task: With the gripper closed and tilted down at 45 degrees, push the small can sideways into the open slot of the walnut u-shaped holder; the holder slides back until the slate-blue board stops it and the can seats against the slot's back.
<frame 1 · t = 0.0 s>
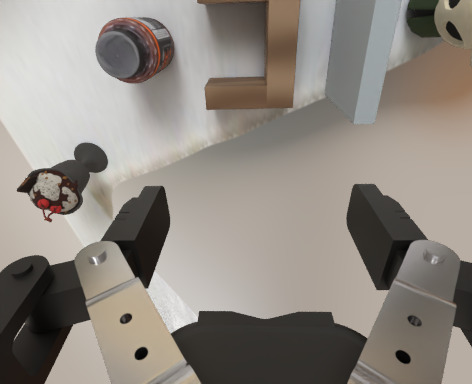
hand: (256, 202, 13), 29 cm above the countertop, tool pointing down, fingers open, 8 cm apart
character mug: (432, 6, 33), on the countertop
supplement bottle: (151, 44, 36), on the countertop
sundae: (92, 157, 44), on the countertop
walnut u-shaped holder: (248, 44, 33), point 3 cm above the countertop, slide at 0.0 cm
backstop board: (340, 38, 35), on the countertop
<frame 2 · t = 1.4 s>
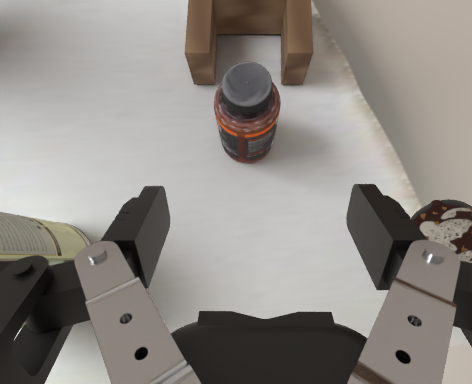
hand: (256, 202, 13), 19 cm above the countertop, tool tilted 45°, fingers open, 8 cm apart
coffee can: (50, 268, 32), on the countertop
supplement bottle: (247, 140, 34), on the countertop
sundae: (387, 248, 31), on the countertop
walnut u-shaped holder: (248, 31, 33), point 3 cm above the countertop, slide at 0.0 cm
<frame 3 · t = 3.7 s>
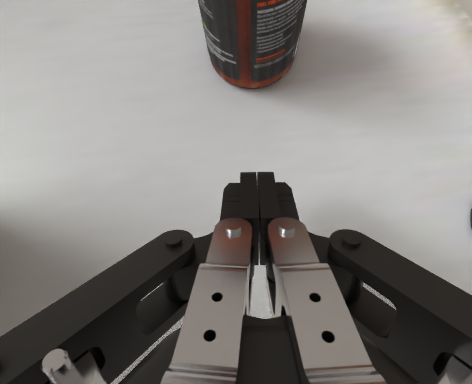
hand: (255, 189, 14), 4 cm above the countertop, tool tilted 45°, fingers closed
supplement bottle: (251, 56, 21), on the countertop
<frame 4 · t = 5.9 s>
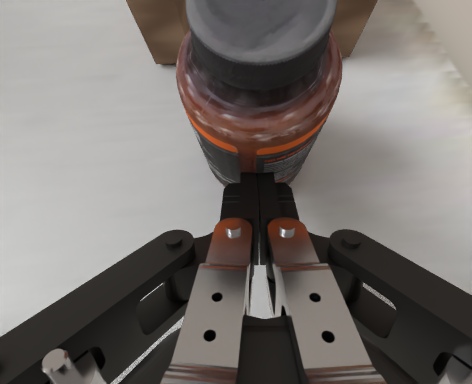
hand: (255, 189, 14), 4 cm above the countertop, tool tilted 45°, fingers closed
supplement bottle: (254, 154, 19), on the countertop, touching gripper
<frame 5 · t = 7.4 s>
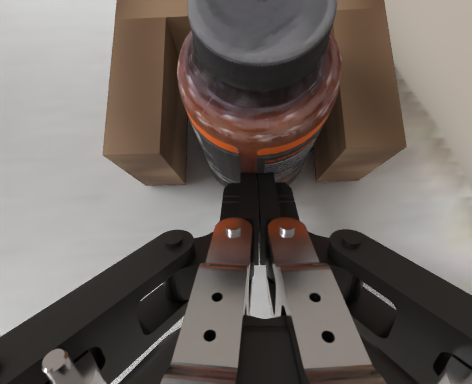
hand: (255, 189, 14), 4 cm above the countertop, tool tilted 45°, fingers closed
supplement bottle: (254, 155, 19), on the countertop, touching gripper
walnut u-shaped holder: (248, 84, 16), point 3 cm above the countertop, slide at 0.0 cm
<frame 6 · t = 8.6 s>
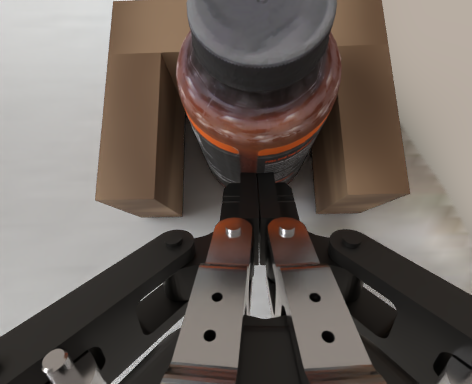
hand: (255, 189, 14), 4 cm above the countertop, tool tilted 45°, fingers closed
supplement bottle: (253, 154, 19), on the countertop, touching gripper, walnut u-shaped holder
walnut u-shaped holder: (247, 116, 16), point 3 cm above the countertop, slide at 2.4 cm, touching supplement bottle
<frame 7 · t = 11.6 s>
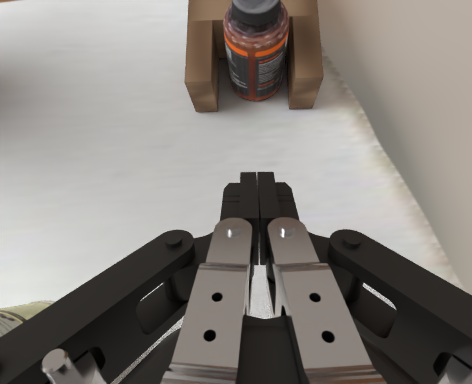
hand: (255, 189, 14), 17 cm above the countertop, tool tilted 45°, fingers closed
coffee can: (40, 355, 28), on the countertop
supplement bottle: (255, 81, 34), on the countertop
walnut u-shaped holder: (252, 54, 31), point 3 cm above the countertop, slide at 3.4 cm
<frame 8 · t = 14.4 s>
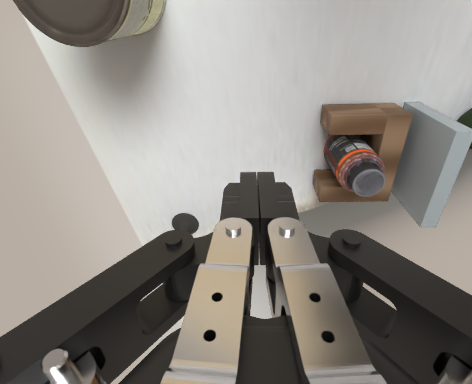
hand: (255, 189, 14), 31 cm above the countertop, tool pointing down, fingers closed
supplement bottle: (342, 147, 45), on the countertop
sundae: (185, 223, 54), on the countertop
walnut u-shaped holder: (355, 153, 42), point 3 cm above the countertop, slide at 3.4 cm
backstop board: (399, 144, 45), on the countertop
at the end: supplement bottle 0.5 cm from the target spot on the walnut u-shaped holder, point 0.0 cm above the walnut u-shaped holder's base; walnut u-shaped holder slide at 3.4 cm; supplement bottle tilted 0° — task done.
